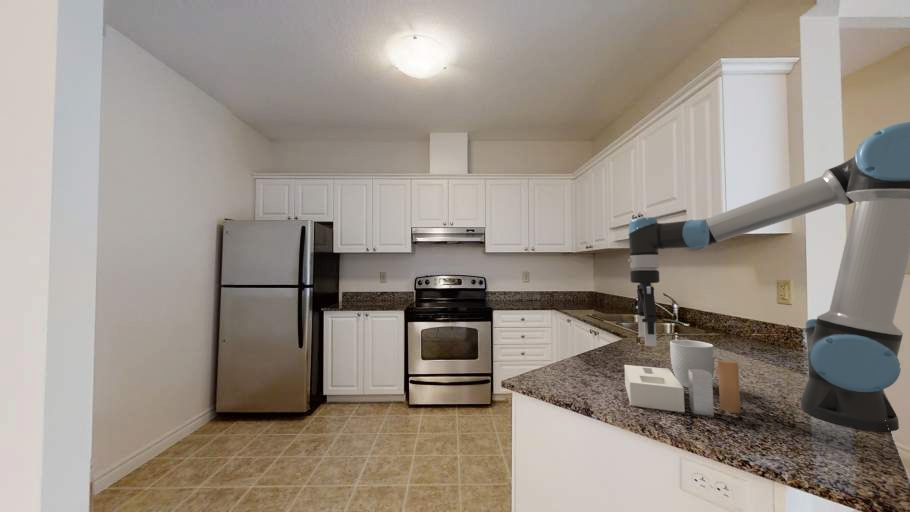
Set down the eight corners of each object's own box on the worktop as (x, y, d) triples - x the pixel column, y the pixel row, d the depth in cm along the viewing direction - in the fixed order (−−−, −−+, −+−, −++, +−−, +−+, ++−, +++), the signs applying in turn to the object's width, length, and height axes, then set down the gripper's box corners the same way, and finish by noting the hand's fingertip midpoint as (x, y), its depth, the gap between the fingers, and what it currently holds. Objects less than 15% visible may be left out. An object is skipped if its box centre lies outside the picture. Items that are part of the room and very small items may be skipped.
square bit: (708, 410, 84) (706, 370, 85) (713, 416, 81) (711, 374, 81) (689, 407, 86) (688, 368, 86) (694, 413, 82) (692, 372, 83)
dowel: (736, 408, 85) (734, 361, 86) (743, 414, 82) (740, 365, 82) (717, 405, 87) (715, 359, 88) (723, 411, 83) (720, 363, 84)
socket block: (669, 389, 100) (668, 368, 100) (684, 412, 83) (683, 388, 83) (625, 384, 104) (624, 364, 105) (630, 405, 88) (629, 382, 88)
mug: (734, 389, 99) (732, 344, 100) (729, 399, 91) (727, 351, 92) (676, 378, 110) (674, 338, 110) (667, 386, 102) (665, 343, 103)
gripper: (626, 269, 112) (628, 333, 111) (635, 269, 89) (638, 349, 88) (652, 269, 110) (654, 334, 108) (667, 269, 87) (671, 351, 85)
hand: (647, 341), depth 98 cm, fingers open, 13 cm apart
